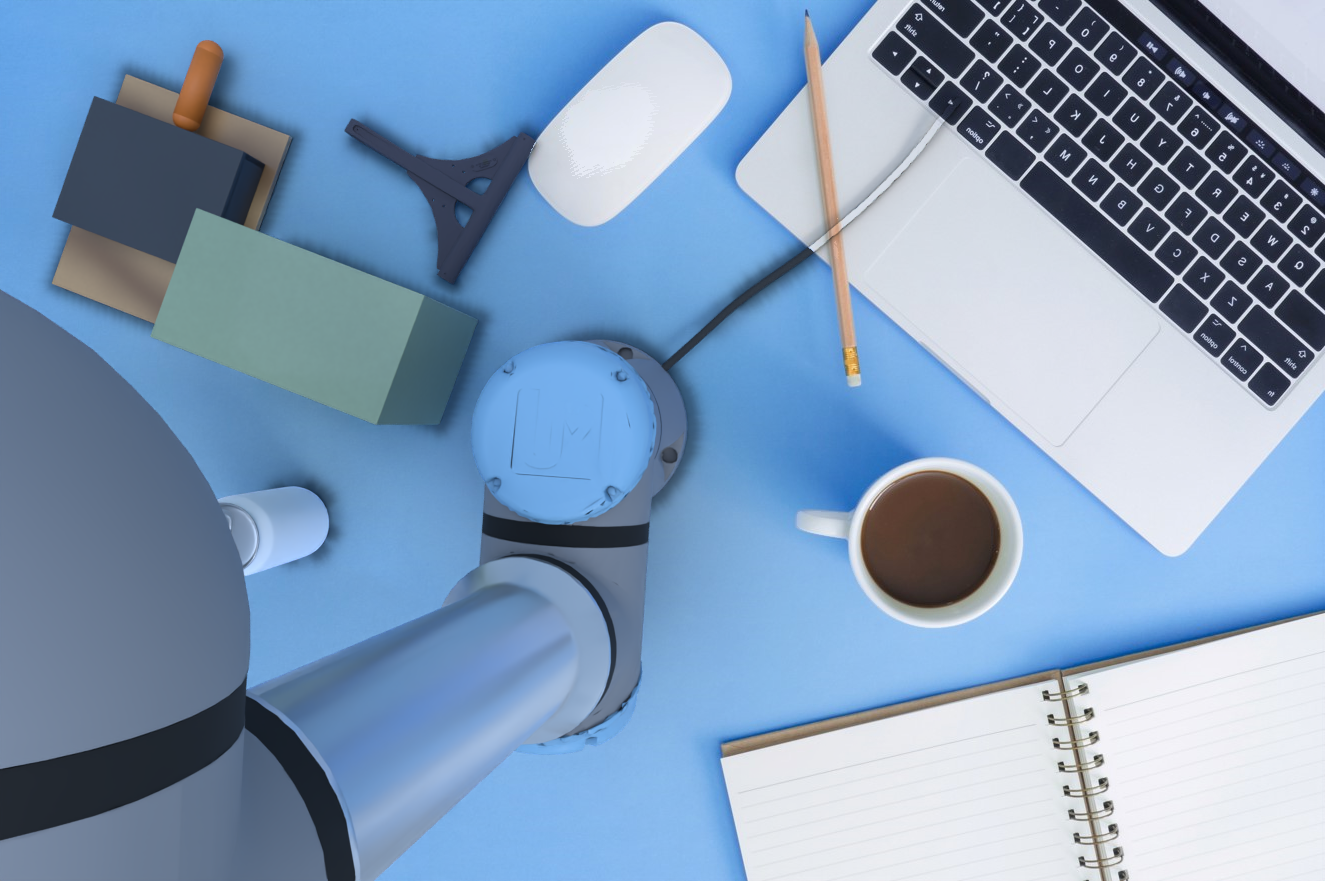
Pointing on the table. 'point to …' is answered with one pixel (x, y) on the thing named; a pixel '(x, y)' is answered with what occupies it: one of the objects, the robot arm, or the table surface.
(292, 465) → the table surface
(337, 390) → the stand
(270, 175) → the cork mat
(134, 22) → the table surface
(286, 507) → the can
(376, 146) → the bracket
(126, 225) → the block with orange grip
